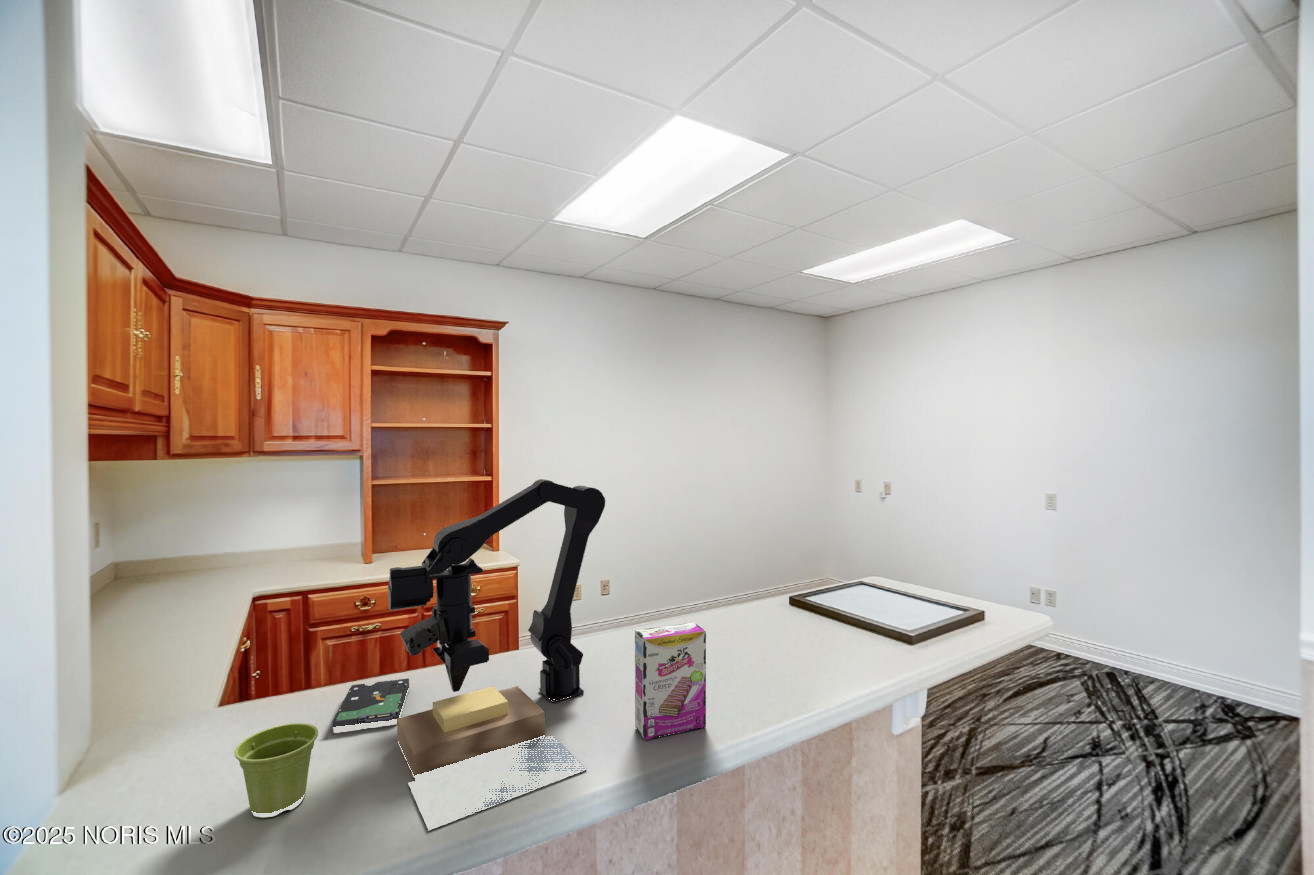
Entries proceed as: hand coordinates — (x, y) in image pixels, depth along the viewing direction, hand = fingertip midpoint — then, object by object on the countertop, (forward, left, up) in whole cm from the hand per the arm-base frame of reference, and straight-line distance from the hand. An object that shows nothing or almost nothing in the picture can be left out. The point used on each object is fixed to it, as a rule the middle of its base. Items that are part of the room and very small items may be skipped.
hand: (455, 690), depth 101 cm
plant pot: (+26, +10, -5) cm, 28 cm away
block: (0, +8, -1) cm, 8 cm away
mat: (0, +21, -5) cm, 22 cm away
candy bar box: (-28, +25, -5) cm, 38 cm away
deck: (0, +9, -5) cm, 10 cm away
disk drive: (+11, -12, -6) cm, 17 cm away
